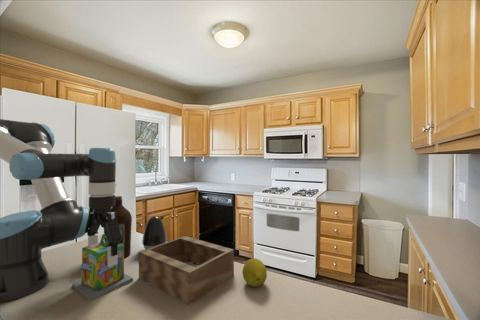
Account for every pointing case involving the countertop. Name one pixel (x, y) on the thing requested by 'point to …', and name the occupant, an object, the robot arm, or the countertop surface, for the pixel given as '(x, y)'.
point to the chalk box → (101, 265)
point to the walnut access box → (186, 267)
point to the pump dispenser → (154, 233)
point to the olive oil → (123, 224)
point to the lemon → (254, 272)
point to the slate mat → (92, 293)
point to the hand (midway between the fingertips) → (102, 259)
